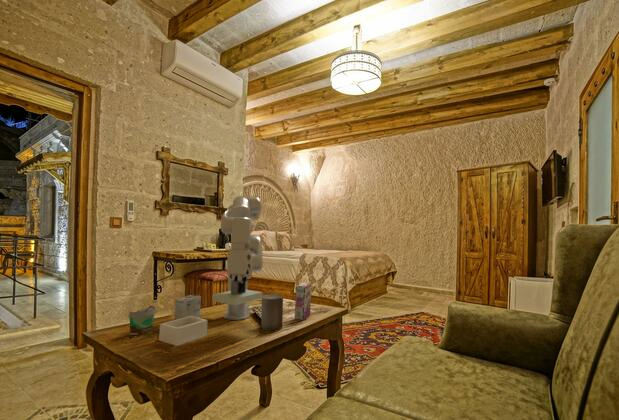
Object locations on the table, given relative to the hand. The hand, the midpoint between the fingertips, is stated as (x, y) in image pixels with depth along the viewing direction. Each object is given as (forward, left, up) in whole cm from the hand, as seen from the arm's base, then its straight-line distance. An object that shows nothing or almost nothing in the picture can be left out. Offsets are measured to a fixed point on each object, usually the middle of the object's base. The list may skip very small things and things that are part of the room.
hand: (238, 291), depth 129 cm
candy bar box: (-40, +7, -18) cm, 45 cm away
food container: (+19, -32, -18) cm, 41 cm away
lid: (0, 0, -3) cm, 3 cm away
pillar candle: (-18, +4, -18) cm, 26 cm away
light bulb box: (-3, -34, -18) cm, 39 cm away
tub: (+15, -14, -18) cm, 27 cm away
